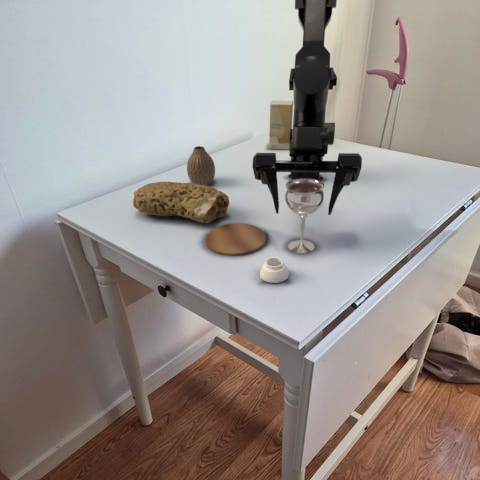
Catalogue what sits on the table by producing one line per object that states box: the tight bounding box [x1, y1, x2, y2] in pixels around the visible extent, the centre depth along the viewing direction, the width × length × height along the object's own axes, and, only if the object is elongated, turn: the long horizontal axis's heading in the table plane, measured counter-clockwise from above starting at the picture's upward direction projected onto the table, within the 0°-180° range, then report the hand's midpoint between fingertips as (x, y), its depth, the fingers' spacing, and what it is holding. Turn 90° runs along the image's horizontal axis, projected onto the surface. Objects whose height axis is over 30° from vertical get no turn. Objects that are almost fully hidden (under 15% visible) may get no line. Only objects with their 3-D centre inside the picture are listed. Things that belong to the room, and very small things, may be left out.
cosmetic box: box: [268, 100, 294, 150], centre depth 121 cm, size 6×4×12 cm
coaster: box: [204, 223, 267, 256], centre depth 83 cm, size 12×12×1 cm
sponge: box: [132, 181, 230, 224], centre depth 91 cm, size 13×8×20 cm
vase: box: [186, 145, 216, 186], centre depth 104 cm, size 7×7×9 cm
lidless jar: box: [259, 256, 290, 284], centre depth 72 cm, size 5×3×5 cm
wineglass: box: [284, 178, 325, 254], centre depth 77 cm, size 7×7×12 cm
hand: (303, 213), depth 75 cm, fingers open, 9 cm apart
